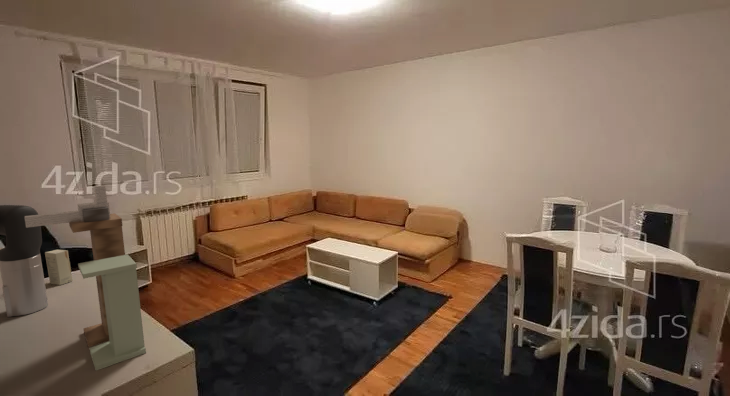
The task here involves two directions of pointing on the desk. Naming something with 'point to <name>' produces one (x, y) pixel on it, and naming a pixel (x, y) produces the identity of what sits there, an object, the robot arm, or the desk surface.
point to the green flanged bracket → (118, 309)
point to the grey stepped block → (69, 216)
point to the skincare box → (58, 266)
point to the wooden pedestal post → (104, 246)
